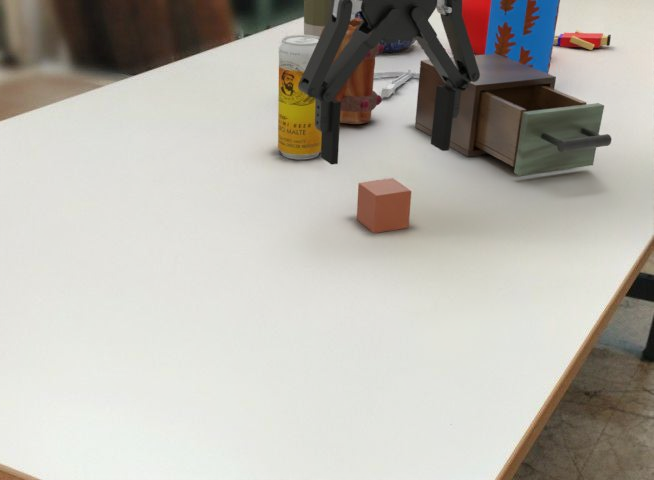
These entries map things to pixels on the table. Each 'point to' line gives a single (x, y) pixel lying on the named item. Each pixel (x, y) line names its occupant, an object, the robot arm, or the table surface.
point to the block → (383, 205)
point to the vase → (477, 23)
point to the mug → (358, 84)
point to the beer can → (296, 100)
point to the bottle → (315, 16)
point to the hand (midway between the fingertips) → (385, 154)
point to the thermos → (523, 31)
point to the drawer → (538, 128)
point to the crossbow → (397, 82)
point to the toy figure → (582, 40)
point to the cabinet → (472, 95)
